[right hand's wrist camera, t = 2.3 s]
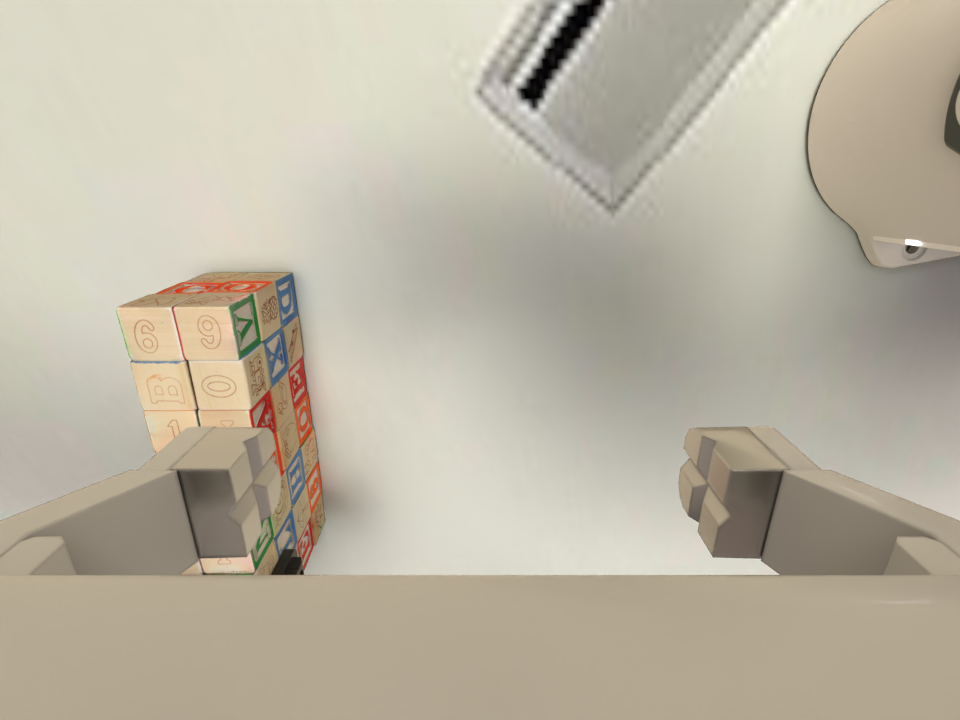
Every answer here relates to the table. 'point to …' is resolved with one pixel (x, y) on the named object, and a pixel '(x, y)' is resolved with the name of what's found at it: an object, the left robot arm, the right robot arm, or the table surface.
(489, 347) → the table surface
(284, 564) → the left robot arm
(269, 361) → the stack of blocks
